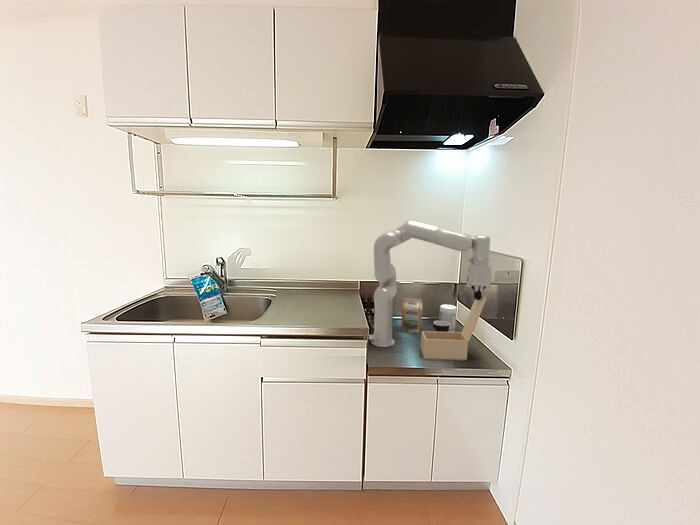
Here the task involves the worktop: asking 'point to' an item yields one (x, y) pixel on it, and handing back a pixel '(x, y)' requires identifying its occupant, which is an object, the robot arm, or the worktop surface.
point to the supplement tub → (448, 315)
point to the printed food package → (411, 316)
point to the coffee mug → (441, 326)
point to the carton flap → (473, 317)
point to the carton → (444, 345)
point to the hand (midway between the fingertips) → (477, 299)
